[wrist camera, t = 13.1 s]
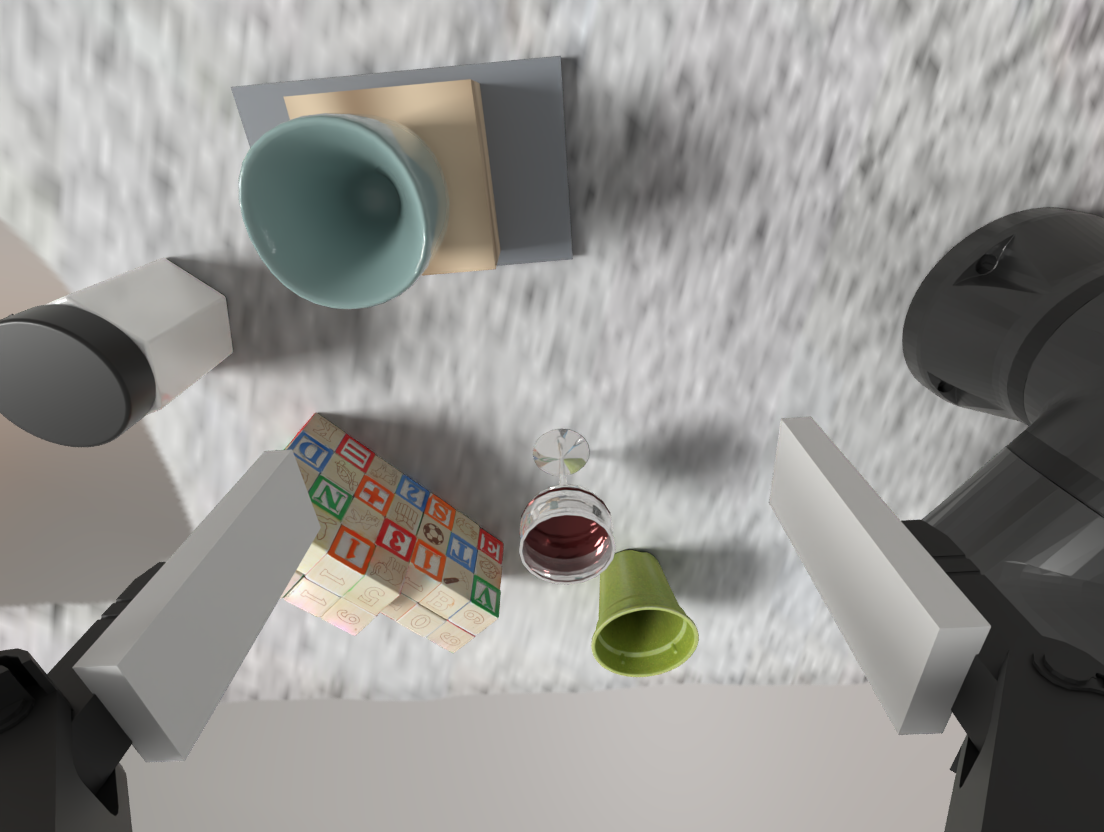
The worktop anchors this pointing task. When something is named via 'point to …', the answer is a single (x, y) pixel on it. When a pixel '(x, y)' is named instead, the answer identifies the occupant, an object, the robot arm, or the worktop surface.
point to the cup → (344, 207)
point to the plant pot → (640, 619)
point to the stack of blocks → (389, 547)
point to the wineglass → (565, 517)
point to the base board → (512, 138)
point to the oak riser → (459, 145)
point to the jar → (110, 353)
